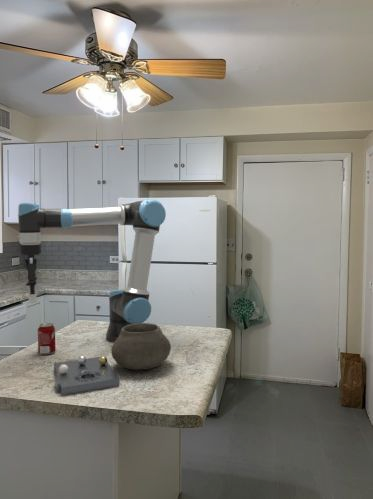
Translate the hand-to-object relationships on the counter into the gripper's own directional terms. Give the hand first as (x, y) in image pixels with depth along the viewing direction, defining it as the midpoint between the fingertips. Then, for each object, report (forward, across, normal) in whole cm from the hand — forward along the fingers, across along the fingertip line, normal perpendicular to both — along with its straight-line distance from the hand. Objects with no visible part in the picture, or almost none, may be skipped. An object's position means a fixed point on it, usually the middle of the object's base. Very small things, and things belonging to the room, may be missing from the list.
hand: (32, 299), depth 147 cm
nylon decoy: (+20, +23, +9) cm, 32 cm away
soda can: (+25, -10, +5) cm, 27 cm away
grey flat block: (+25, +23, +16) cm, 37 cm away
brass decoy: (+21, +20, +23) cm, 36 cm away
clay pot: (+25, +20, +37) cm, 49 cm away
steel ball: (+20, +17, +16) cm, 31 cm away
